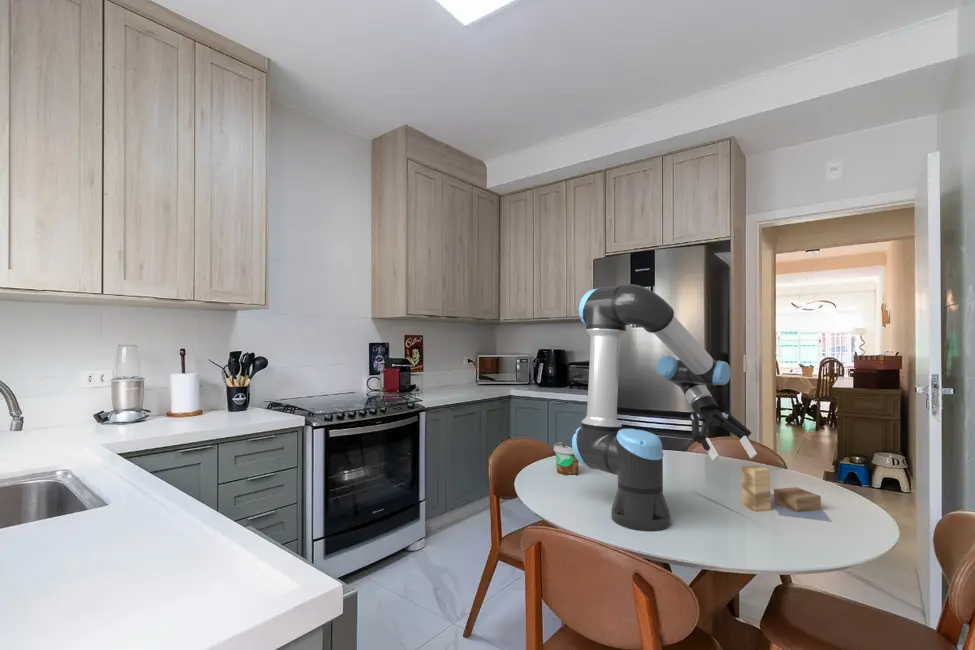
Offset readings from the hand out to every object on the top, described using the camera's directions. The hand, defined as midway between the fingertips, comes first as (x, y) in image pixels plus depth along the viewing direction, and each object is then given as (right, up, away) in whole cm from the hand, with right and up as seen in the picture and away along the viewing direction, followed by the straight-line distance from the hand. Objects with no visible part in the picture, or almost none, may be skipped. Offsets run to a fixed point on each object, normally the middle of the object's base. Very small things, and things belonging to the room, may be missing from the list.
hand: (735, 457), depth 143 cm
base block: (+14, -12, -8) cm, 20 cm away
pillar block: (+1, -12, -9) cm, 16 cm away
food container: (-48, -14, +29) cm, 58 cm away
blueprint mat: (+14, -12, -8) cm, 20 cm away
